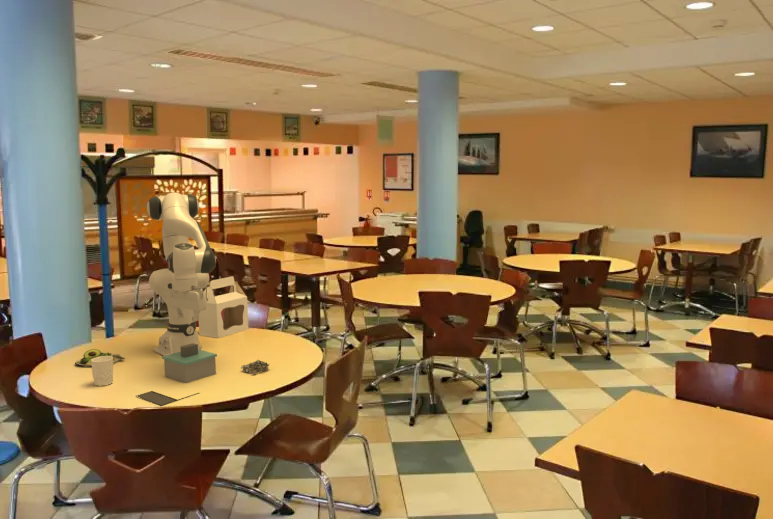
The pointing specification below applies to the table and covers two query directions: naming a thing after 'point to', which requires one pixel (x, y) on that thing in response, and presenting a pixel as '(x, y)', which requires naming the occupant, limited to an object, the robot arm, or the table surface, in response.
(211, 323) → the gable box
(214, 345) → the table surface
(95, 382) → the tan cup
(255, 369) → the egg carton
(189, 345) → the lid
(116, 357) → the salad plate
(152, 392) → the rubber mat
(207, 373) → the storage box
